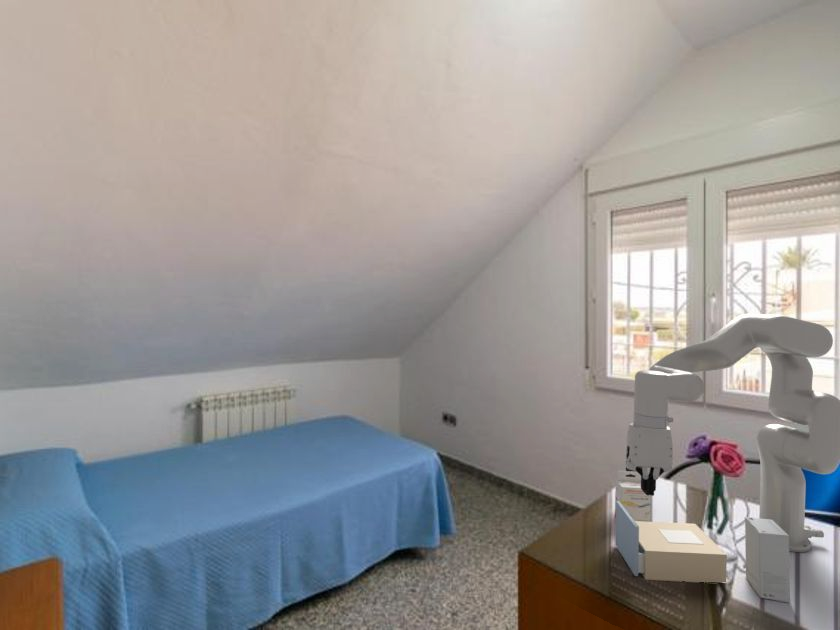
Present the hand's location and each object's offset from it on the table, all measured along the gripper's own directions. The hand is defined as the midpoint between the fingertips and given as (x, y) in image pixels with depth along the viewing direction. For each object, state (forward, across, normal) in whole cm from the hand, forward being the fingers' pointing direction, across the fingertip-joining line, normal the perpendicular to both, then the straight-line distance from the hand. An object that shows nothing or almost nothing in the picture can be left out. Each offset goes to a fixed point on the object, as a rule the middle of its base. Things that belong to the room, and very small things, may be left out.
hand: (647, 493), depth 109 cm
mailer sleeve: (+18, -6, 0) cm, 19 cm away
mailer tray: (+17, -4, 0) cm, 18 cm away
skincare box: (+18, -23, +8) cm, 30 cm away
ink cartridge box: (+18, -4, -20) cm, 27 cm away
